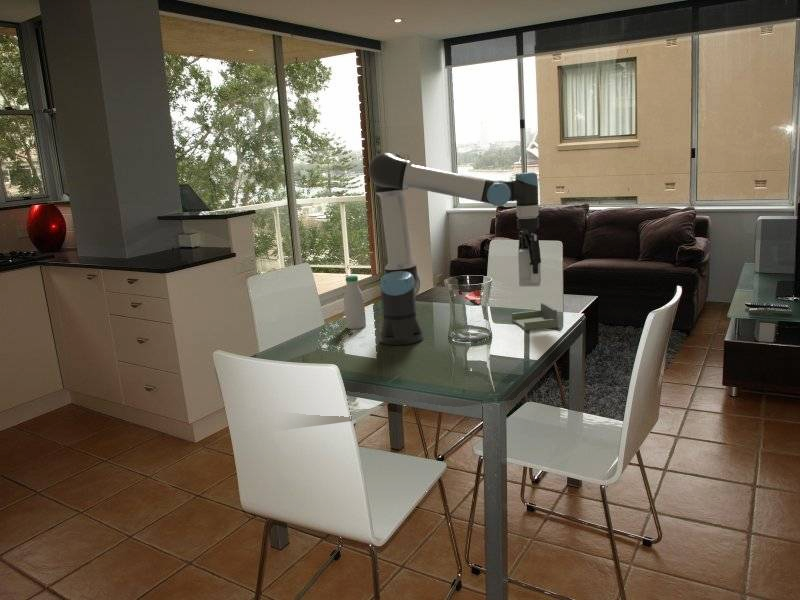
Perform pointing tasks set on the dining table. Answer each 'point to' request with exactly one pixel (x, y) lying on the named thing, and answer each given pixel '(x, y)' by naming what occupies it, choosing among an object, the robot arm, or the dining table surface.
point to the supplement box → (526, 269)
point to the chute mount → (536, 318)
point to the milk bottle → (354, 304)
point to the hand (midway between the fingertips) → (530, 280)
